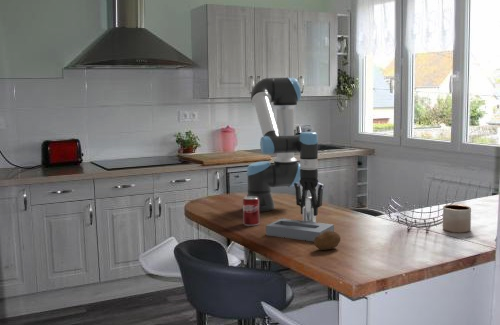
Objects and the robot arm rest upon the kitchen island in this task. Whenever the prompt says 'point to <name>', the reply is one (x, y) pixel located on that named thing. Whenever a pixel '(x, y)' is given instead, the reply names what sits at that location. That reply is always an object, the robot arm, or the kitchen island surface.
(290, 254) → the kitchen island surface
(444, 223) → the planter
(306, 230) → the keyhole board
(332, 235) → the potato
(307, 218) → the peg
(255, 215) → the soda can
